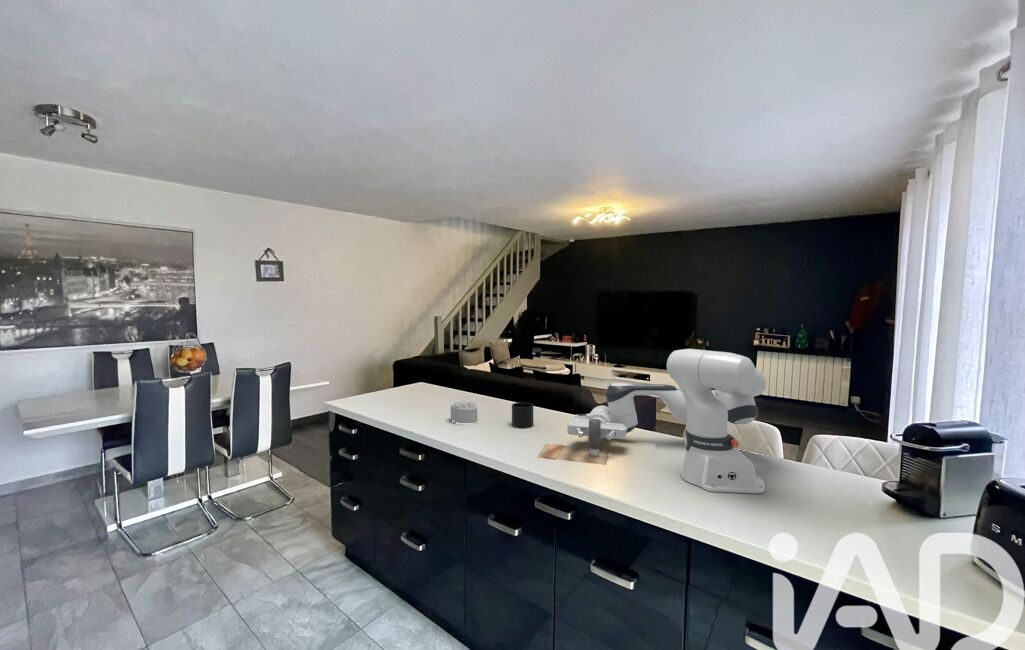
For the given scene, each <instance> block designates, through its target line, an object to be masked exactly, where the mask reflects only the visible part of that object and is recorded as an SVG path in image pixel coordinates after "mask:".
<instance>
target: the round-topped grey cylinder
mask: <svg viewBox="0 0 1025 650" xmlns="http://www.w3.org/2000/svg"><path fill="white" fill-rule="evenodd" d="M601 440H602V438H601V421H600V420H597V419H591V420H589V436H588V448H590V456H591V457H599V449H601V445H602V444H601V443H602V441H601Z"/></svg>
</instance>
